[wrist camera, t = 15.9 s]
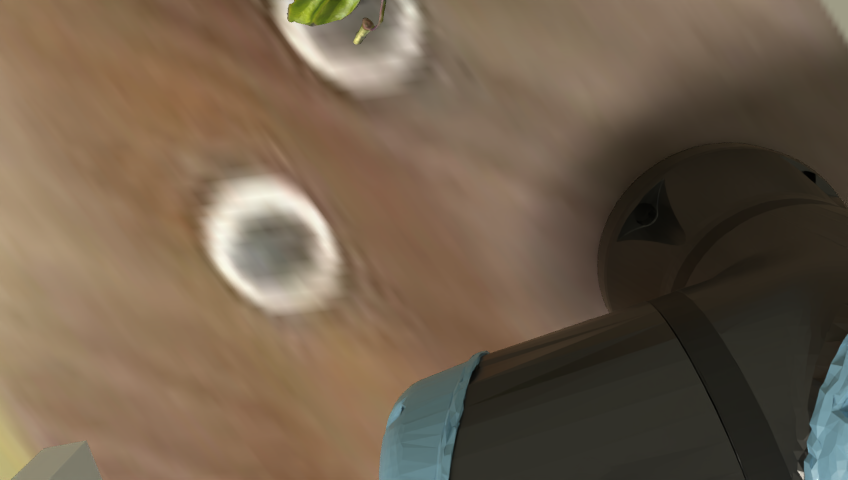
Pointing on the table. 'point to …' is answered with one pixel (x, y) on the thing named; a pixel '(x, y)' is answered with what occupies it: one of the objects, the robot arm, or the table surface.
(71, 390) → the table surface
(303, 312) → the table surface
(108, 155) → the table surface
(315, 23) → the passion flower
